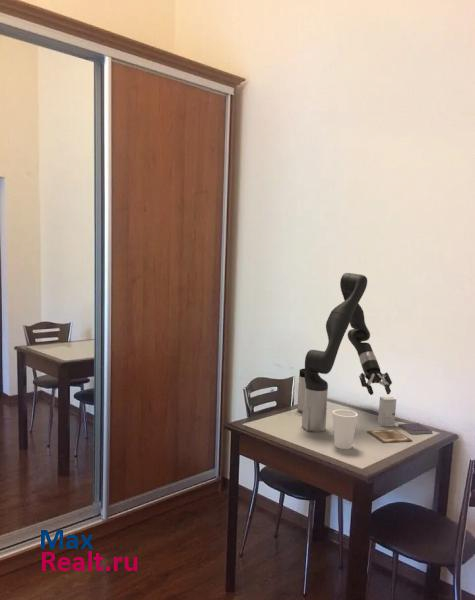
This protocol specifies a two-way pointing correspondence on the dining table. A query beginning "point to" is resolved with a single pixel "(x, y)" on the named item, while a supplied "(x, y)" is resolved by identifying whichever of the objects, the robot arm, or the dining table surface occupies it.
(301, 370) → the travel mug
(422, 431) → the ink pad
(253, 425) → the dining table surface
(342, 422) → the foam cup
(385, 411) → the skincare box
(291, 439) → the dining table surface
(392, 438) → the marked board
